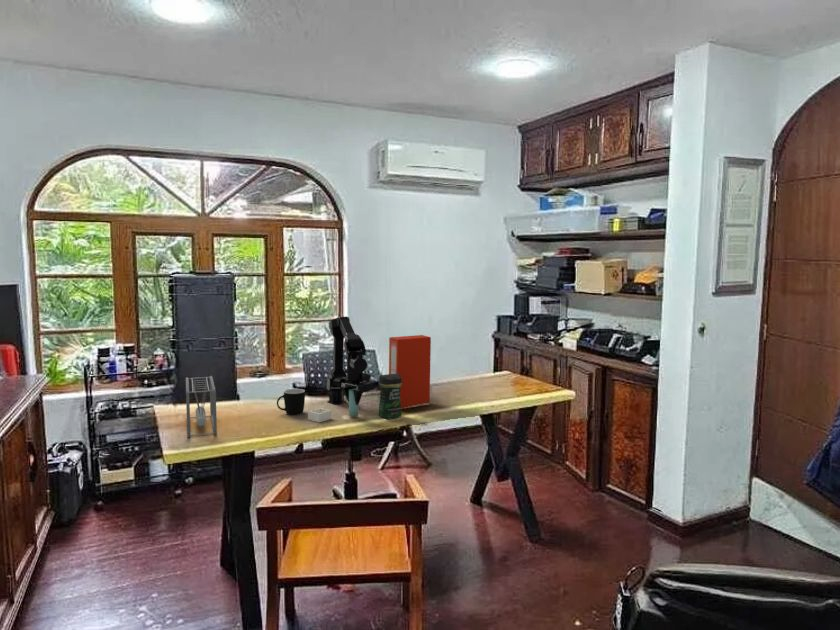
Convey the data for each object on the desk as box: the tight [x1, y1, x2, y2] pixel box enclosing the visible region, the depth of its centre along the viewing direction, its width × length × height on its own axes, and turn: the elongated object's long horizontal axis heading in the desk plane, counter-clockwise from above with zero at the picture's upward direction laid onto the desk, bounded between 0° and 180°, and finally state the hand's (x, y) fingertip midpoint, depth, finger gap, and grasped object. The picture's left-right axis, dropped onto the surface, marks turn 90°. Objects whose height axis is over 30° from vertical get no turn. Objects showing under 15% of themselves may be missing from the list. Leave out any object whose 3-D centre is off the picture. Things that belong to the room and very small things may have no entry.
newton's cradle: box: [185, 375, 218, 438], centre depth 233 cm, size 30×10×18 cm, turn 22°
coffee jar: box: [377, 373, 402, 420], centre depth 250 cm, size 10×8×19 cm
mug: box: [276, 388, 306, 416], centre depth 253 cm, size 12×9×10 cm
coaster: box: [341, 413, 366, 422], centre depth 248 cm, size 10×10×1 cm
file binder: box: [388, 334, 432, 408], centre depth 267 cm, size 8×17×32 cm, turn 121°
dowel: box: [348, 388, 359, 417], centre depth 247 cm, size 4×4×11 cm
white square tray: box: [307, 407, 332, 423], centre depth 245 cm, size 7×7×4 cm
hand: (353, 403), depth 247 cm, fingers closed on dowel, 4 cm apart
